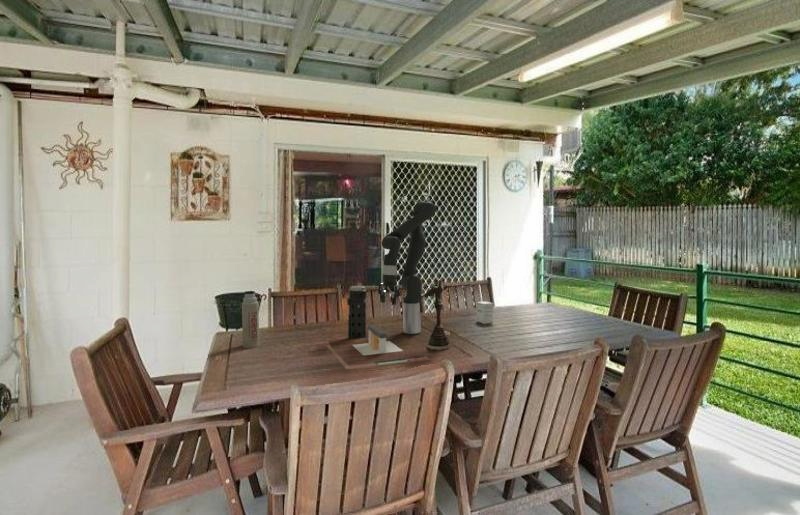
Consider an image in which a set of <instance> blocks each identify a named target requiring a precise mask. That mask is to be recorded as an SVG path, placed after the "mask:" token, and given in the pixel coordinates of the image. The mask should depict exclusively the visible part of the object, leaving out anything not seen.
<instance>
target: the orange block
mask: <svg viewBox="0 0 800 515" xmlns="http://www.w3.org/2000/svg"><path fill="white" fill-rule="evenodd" d="M371 347H372V348H373V349H379V337H378V336H377V335H376V334H374V333H371Z"/></svg>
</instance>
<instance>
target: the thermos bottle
mask: <svg viewBox="0 0 800 515" xmlns="http://www.w3.org/2000/svg"><path fill="white" fill-rule="evenodd" d="M255 293H256V292H255V291H254V290H246V291H244V297H243V298H242V301H243V302H241V321H242V322H241V324H242V327H241V328H242V329H241V330H242V347H243V348H246V349H247V348H248V349H250V348H257V347H259V346H260V319H259V318H260V317H259V316H260V315H259V313H260V312H259V301H258V297H257V296H256V294H255Z"/></svg>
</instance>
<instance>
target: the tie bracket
mask: <svg viewBox="0 0 800 515" xmlns="http://www.w3.org/2000/svg"><path fill="white" fill-rule="evenodd" d="M371 333H373V332H371V331H370V330H369V329H368V343H367V342H366V343H358V344H352V346H353V348H355V349H356V350H357V351H358V352H359V353H360V354H361V355H362V356H371V355H377V354H378V355H379V354H380V355H381V354H387V353H397V352H403V351H404V350H403V349H402V348H400V347H398V346H397V345H396V344H394V343H393V342H392V341H389V340H388V341H387V338H380V337H379V349H373V348H372V347H371Z"/></svg>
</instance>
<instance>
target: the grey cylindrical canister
mask: <svg viewBox="0 0 800 515" xmlns="http://www.w3.org/2000/svg"><path fill="white" fill-rule="evenodd" d="M493 314H494V303H493V302H490V301H477V302H476V322H477V323H479V324H480V323H481V324H483V325H485V324H493V323H494V322H493V321H494V315H493Z"/></svg>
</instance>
